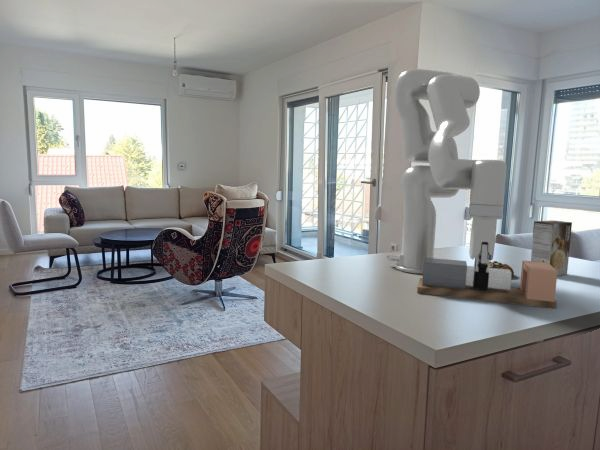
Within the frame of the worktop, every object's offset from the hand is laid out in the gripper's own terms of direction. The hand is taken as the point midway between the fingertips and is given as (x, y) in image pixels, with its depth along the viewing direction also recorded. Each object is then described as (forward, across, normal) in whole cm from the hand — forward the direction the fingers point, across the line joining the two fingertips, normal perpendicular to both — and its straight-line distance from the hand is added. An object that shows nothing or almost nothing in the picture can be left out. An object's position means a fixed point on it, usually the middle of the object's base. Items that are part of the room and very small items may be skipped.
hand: (479, 285), depth 104 cm
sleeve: (+1, 0, -8) cm, 8 cm away
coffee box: (+2, -34, +22) cm, 40 cm away
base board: (+2, 0, +1) cm, 2 cm away
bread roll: (+3, -26, +5) cm, 26 cm away
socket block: (+1, 0, +12) cm, 12 cm away
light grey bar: (0, 0, -3) cm, 3 cm away
